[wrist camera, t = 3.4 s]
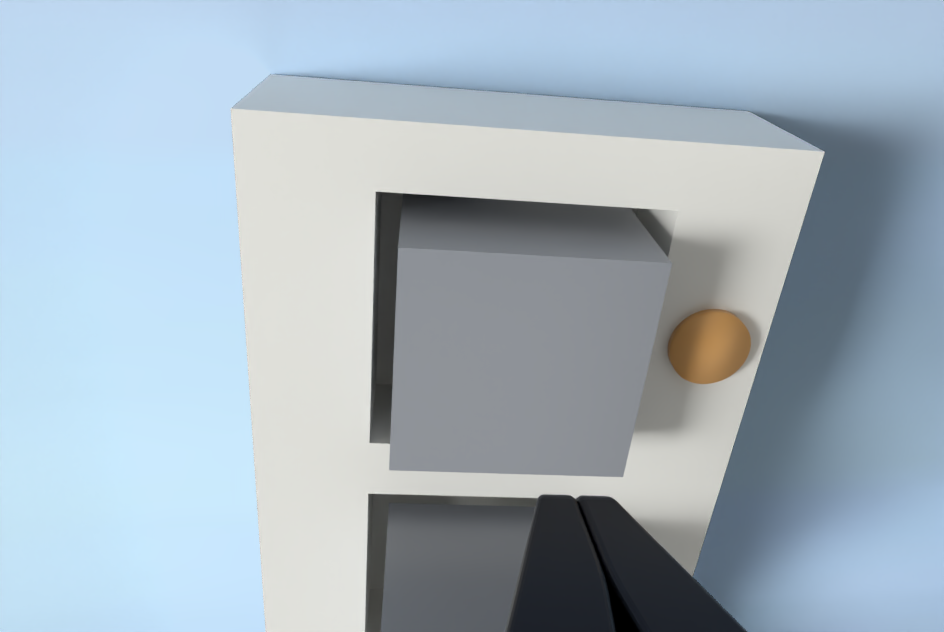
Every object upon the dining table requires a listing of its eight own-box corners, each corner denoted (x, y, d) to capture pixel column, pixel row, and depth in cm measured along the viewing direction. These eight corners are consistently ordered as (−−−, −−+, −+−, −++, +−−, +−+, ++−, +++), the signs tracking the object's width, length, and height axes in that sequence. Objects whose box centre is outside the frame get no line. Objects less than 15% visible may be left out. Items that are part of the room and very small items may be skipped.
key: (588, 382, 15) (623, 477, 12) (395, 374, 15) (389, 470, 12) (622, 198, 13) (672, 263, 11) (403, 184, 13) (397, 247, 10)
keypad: (590, 728, 23) (614, 842, 20) (297, 729, 22) (278, 847, 19) (748, 111, 14) (831, 154, 11) (270, 74, 13) (227, 112, 10)
